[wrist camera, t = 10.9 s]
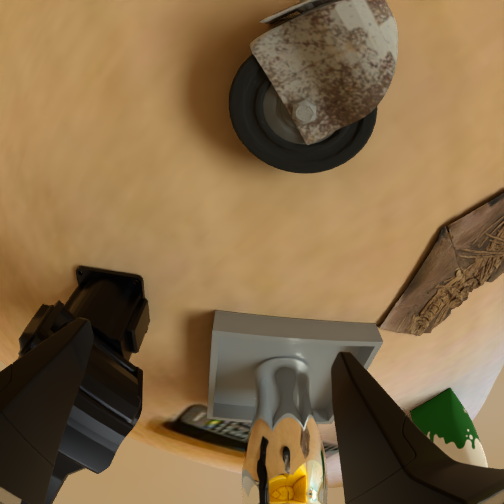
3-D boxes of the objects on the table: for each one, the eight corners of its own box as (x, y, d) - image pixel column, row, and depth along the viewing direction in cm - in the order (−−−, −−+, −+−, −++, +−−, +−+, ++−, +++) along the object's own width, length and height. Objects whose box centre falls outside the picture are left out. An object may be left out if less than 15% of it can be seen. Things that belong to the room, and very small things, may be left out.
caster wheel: (276, 161, 22) (204, 49, 17) (414, 108, 17) (356, -19, 12) (270, 213, 17) (168, 63, 12) (455, 146, 13) (386, -36, 7)
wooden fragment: (399, 350, 29) (402, 356, 28) (349, 295, 26) (352, 303, 25) (555, 209, 20) (560, 212, 19) (535, 127, 17) (542, 130, 16)
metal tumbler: (293, 343, 27) (304, 501, 14) (326, 378, 30) (343, 509, 17) (234, 369, 29) (220, 510, 16) (271, 399, 32) (271, 521, 19)
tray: (209, 401, 33) (207, 418, 31) (215, 310, 26) (212, 330, 24) (328, 407, 34) (331, 423, 32) (375, 323, 27) (383, 342, 25)
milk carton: (462, 399, 37) (498, 494, 19) (416, 425, 40) (443, 522, 22) (454, 381, 33) (498, 494, 16) (402, 412, 36) (433, 526, 19)
